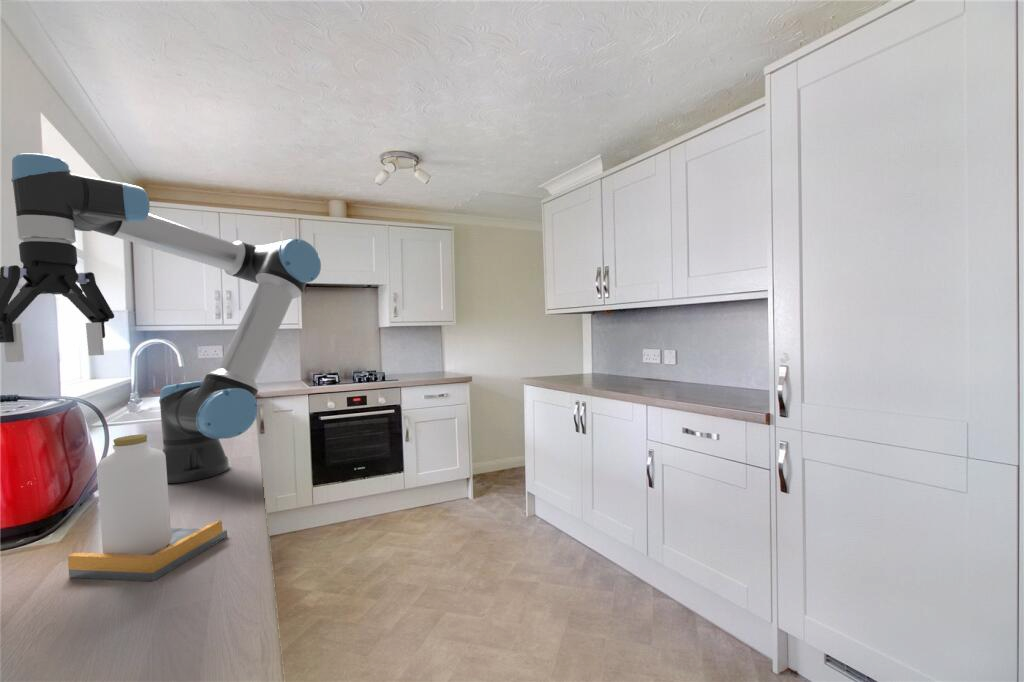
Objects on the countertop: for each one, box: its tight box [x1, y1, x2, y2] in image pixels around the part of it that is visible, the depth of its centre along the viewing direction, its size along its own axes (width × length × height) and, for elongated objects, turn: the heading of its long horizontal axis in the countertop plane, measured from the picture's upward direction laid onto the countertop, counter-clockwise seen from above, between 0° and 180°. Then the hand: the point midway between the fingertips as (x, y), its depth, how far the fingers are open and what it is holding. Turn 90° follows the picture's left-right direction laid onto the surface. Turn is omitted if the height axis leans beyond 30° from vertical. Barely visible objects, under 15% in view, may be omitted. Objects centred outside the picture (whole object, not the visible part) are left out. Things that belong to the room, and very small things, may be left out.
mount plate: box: [67, 520, 228, 582], centre depth 74 cm, size 14×14×3 cm
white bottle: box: [96, 433, 172, 555], centre depth 72 cm, size 8×8×18 cm
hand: (58, 358), depth 87 cm, fingers open, 13 cm apart
